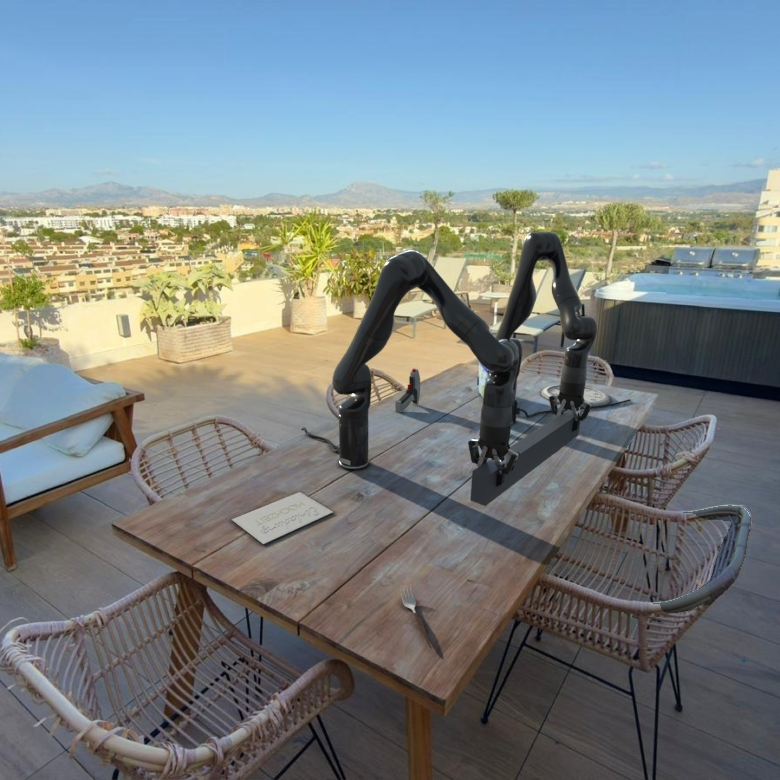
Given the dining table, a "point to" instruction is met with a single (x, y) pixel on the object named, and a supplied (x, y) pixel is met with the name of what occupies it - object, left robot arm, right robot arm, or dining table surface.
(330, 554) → the dining table surface
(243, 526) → the invitation card
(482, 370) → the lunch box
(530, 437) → the bar
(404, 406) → the toy gun
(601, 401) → the wall clock
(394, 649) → the dining table surface
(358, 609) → the dining table surface
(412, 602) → the fork
